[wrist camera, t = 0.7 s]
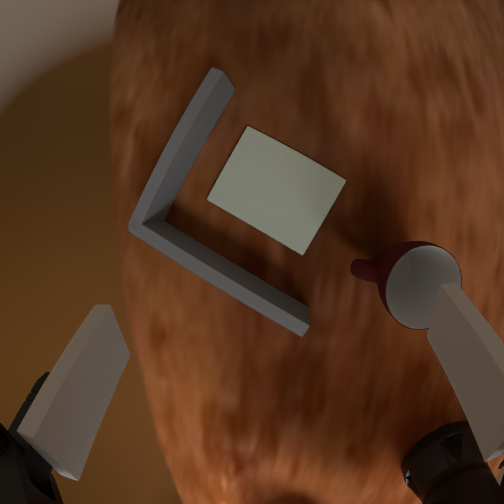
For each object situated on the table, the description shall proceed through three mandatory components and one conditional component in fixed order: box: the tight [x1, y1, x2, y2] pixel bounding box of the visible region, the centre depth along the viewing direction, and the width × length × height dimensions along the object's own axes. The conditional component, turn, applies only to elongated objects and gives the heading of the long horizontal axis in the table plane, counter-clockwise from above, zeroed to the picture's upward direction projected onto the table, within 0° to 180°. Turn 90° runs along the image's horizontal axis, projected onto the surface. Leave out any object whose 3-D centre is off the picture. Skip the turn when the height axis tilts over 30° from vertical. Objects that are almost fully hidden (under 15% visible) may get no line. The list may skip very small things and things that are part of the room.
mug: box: [350, 241, 462, 330], centre depth 31 cm, size 10×8×10 cm
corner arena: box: [128, 67, 346, 337], centre depth 34 cm, size 22×20×6 cm
